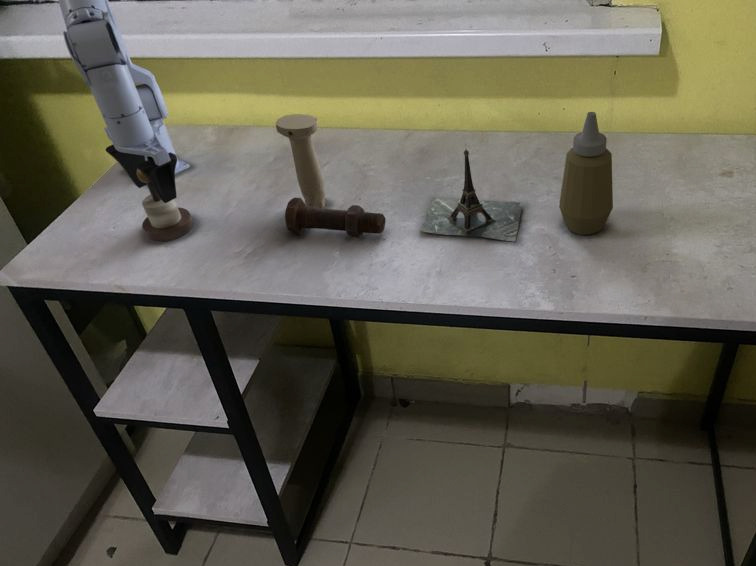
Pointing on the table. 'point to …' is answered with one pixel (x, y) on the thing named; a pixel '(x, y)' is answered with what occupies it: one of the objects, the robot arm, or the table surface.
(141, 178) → the joystick
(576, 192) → the squeeze bottle
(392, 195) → the table surface
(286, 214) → the bolt
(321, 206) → the handle
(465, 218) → the eiffel tower figurine
